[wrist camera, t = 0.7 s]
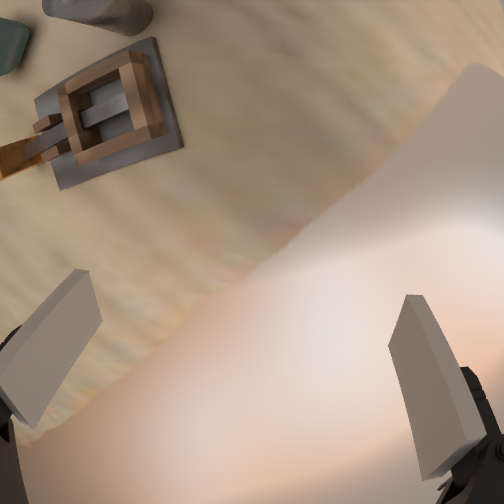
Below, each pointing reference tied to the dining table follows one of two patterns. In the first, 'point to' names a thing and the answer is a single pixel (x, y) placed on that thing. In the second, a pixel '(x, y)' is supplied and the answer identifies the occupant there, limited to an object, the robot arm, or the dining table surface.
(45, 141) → the lock pin
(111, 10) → the grey metal cylinder
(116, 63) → the dock
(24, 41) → the flower pot
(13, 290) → the dining table surface
